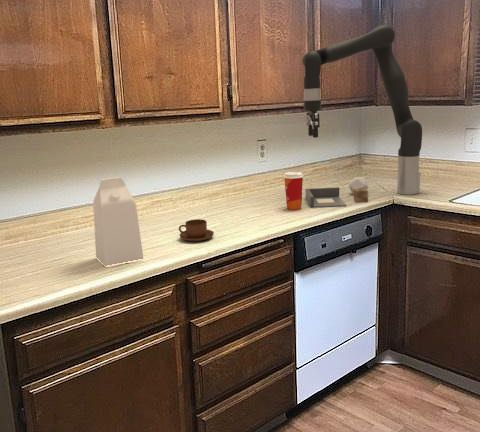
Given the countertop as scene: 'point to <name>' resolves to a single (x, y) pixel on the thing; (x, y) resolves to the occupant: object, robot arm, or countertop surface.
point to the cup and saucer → (195, 230)
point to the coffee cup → (293, 190)
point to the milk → (116, 223)
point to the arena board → (324, 197)
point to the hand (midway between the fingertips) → (313, 136)
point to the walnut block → (360, 195)
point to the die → (358, 184)
